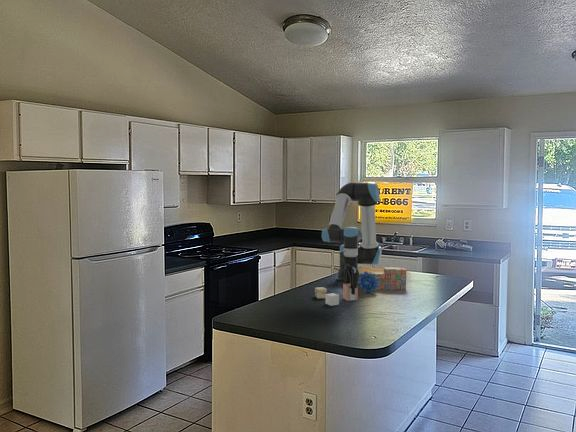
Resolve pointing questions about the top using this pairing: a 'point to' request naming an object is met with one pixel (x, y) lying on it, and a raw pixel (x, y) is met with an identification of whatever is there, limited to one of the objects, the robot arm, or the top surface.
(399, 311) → the top surface
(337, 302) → the off-white plastic block
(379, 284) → the stack of blocks
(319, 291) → the maple block
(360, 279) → the grapes
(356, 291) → the terracotta block
